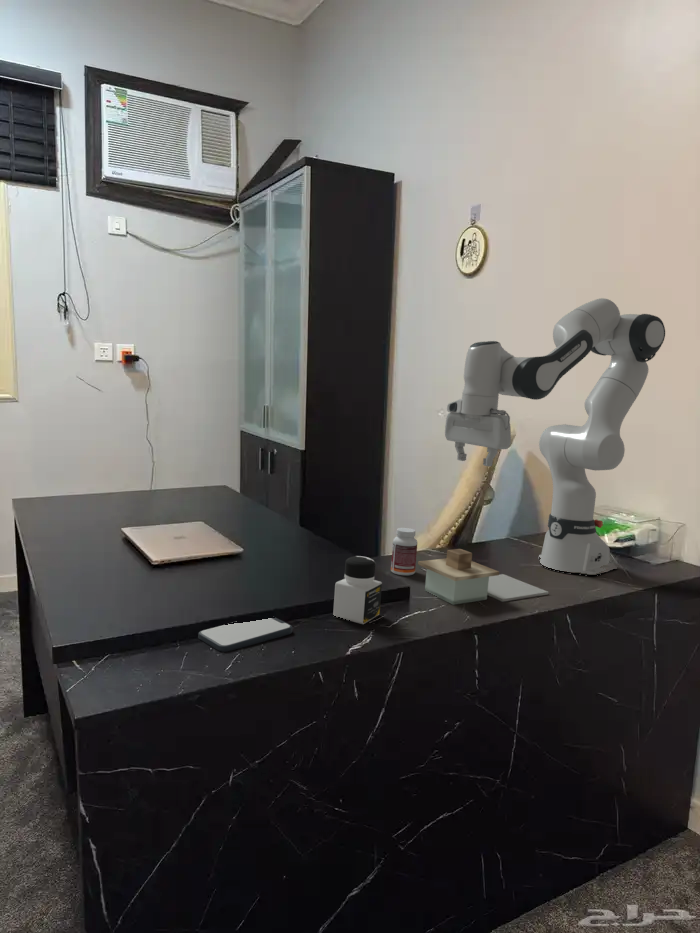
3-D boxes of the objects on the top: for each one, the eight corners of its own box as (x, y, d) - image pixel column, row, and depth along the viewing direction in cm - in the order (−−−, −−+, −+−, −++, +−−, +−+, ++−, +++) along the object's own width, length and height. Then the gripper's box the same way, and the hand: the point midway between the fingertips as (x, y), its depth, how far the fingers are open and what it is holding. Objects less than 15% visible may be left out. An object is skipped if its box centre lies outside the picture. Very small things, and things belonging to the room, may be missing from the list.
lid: (460, 559, 163) (462, 542, 163) (498, 575, 153) (500, 556, 152) (417, 564, 156) (419, 546, 156) (455, 581, 146) (457, 561, 145)
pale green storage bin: (457, 586, 162) (459, 562, 161) (486, 599, 154) (489, 573, 153) (424, 590, 157) (427, 565, 156) (453, 604, 149) (455, 578, 148)
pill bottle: (420, 574, 170) (423, 531, 168) (400, 577, 166) (404, 533, 165) (404, 567, 175) (408, 526, 174) (385, 570, 172) (389, 527, 170)
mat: (502, 576, 174) (503, 574, 174) (548, 594, 161) (548, 591, 161) (458, 582, 166) (458, 579, 166) (502, 601, 153) (502, 599, 153)
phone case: (222, 656, 115) (295, 634, 126) (222, 647, 115) (295, 626, 126) (194, 639, 121) (266, 620, 132) (195, 631, 121) (266, 612, 132)
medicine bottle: (363, 625, 133) (368, 565, 131) (332, 616, 136) (336, 558, 134) (379, 615, 139) (384, 558, 137) (349, 607, 142) (353, 551, 141)
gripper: (519, 411, 160) (514, 469, 161) (461, 404, 177) (457, 457, 178) (500, 410, 156) (494, 469, 158) (442, 404, 173) (438, 457, 175)
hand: (474, 463), depth 168 cm, fingers open, 8 cm apart
